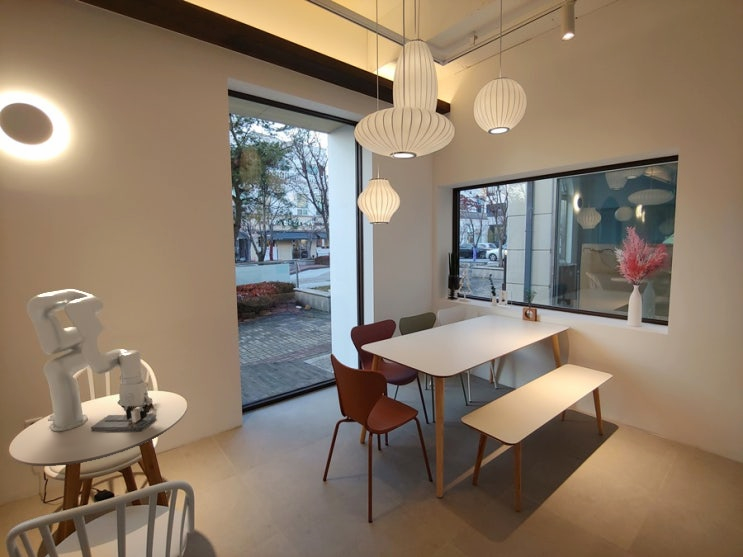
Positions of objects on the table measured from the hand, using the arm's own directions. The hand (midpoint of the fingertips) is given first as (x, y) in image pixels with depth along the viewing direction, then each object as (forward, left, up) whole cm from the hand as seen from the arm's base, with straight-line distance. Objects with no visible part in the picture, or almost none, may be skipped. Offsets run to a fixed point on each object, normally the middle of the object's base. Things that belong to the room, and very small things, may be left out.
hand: (137, 417), depth 156 cm
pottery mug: (-5, +11, -4) cm, 12 cm away
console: (-6, 0, -3) cm, 7 cm away
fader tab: (0, 0, -1) cm, 1 cm away
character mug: (-13, +18, -4) cm, 23 cm away
